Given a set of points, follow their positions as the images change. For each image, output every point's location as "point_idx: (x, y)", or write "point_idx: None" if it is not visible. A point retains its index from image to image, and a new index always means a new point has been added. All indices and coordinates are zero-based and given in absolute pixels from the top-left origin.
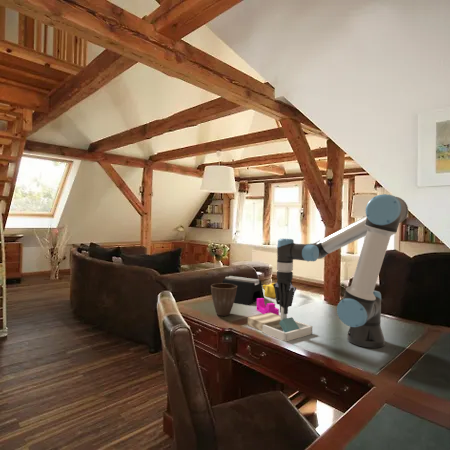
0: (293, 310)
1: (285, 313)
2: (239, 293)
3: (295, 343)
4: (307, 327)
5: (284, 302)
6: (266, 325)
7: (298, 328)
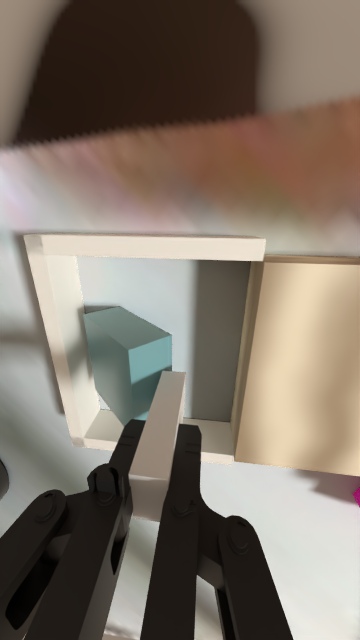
0: (348, 580)
1: (128, 424)
2: None
3: (19, 259)
4: (68, 418)
5: (75, 566)
6: (235, 257)
7: (98, 388)
